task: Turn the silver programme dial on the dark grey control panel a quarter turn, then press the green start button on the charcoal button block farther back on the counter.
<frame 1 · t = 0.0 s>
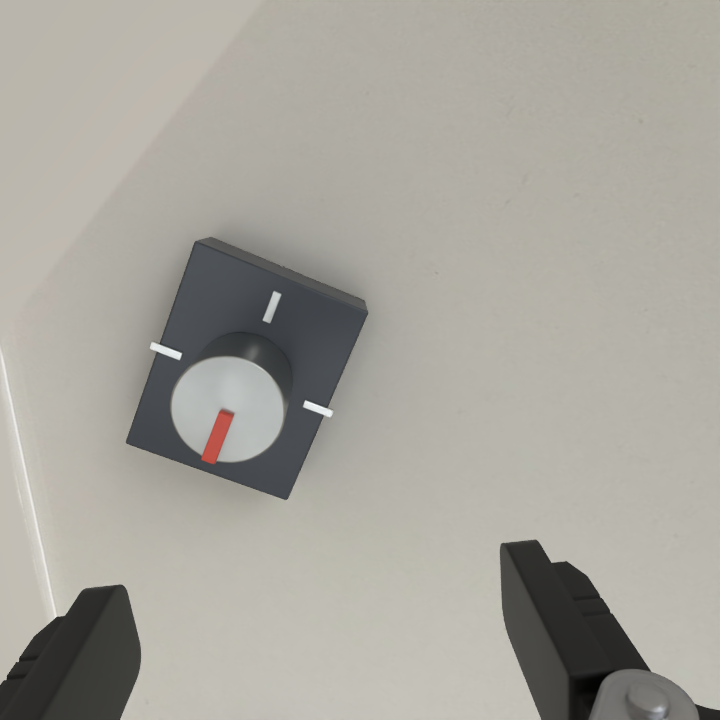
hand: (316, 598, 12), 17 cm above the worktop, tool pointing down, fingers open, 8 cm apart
dial: (235, 395, 24), point 5 cm above the worktop, hinge at 0.0°
control panel: (253, 361, 29), on the worktop
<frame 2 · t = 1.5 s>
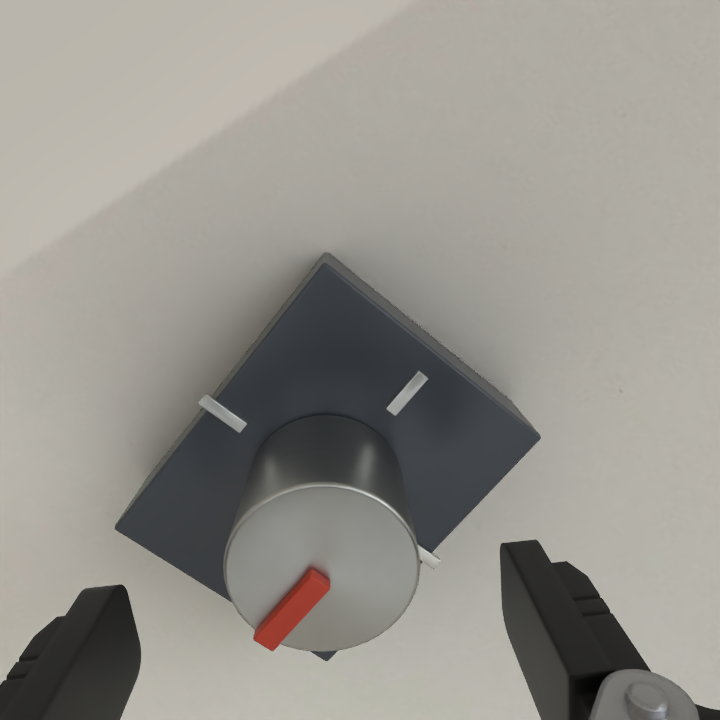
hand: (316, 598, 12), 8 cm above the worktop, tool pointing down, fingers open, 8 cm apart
dial: (324, 526, 14), point 5 cm above the worktop, hinge at 0.0°
control panel: (327, 441, 19), on the worktop
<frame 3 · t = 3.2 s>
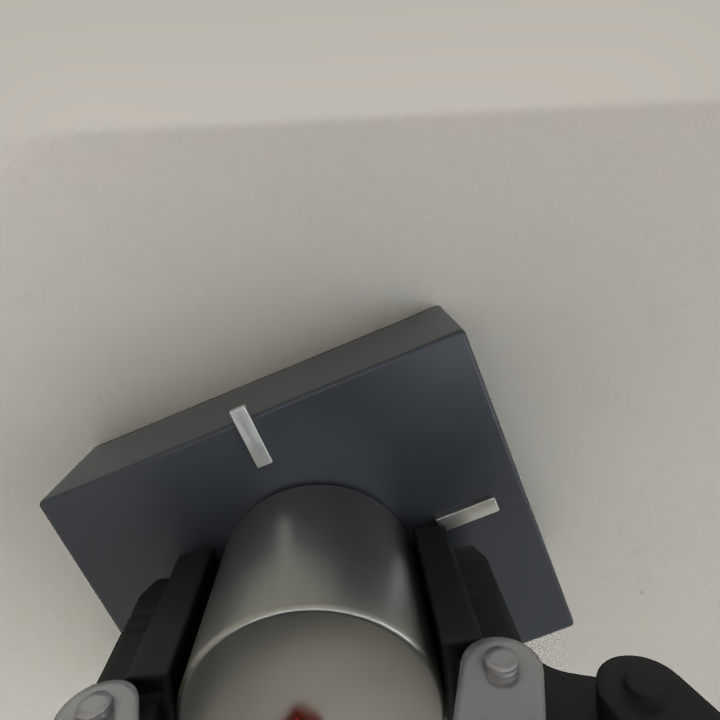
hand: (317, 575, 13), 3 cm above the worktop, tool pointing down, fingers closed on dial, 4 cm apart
dial: (316, 638, 11), point 5 cm above the worktop, hinge at 28.7°, touching gripper
control panel: (323, 502, 16), on the worktop
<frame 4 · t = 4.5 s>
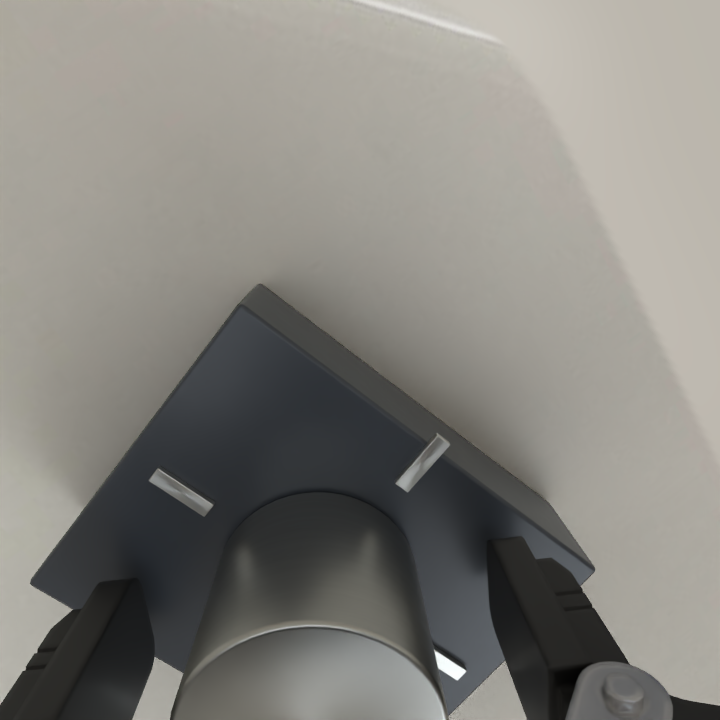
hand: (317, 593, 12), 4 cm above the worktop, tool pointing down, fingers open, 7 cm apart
dial: (314, 652, 11), point 5 cm above the worktop, hinge at 91.0°
control panel: (321, 508, 16), on the worktop
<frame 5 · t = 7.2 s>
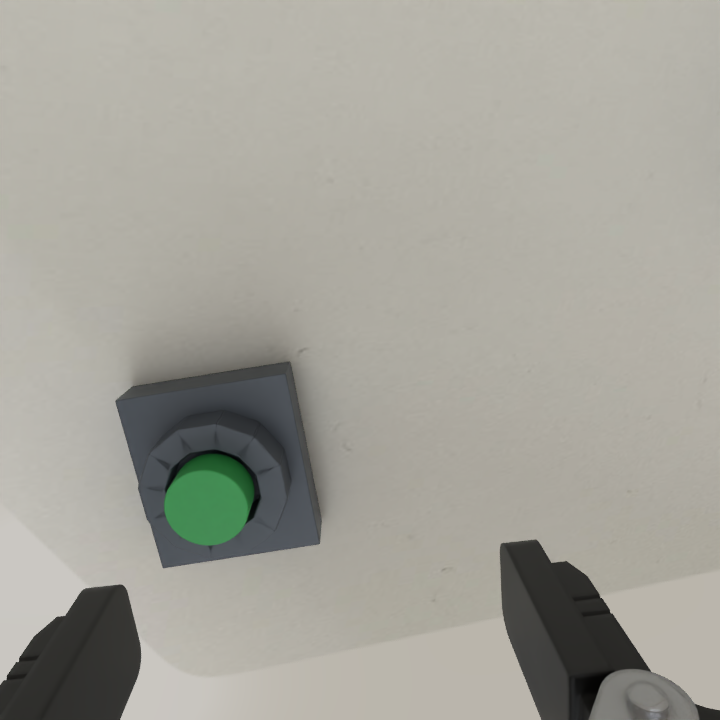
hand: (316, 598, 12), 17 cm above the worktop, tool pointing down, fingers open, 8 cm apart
button block: (230, 456, 30), on the worktop
start button: (210, 498, 25), point 4 cm above the worktop, slide at 0.1 cm
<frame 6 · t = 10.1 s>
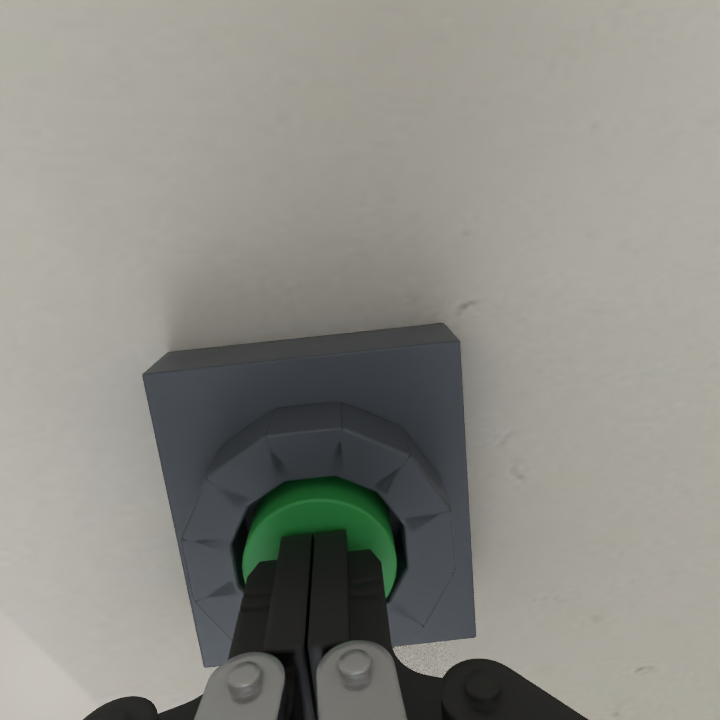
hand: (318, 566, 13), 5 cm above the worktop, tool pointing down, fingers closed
button block: (324, 479, 18), on the worktop
start button: (320, 547, 14), point 4 cm above the worktop, slide at -0.8 cm, touching gripper
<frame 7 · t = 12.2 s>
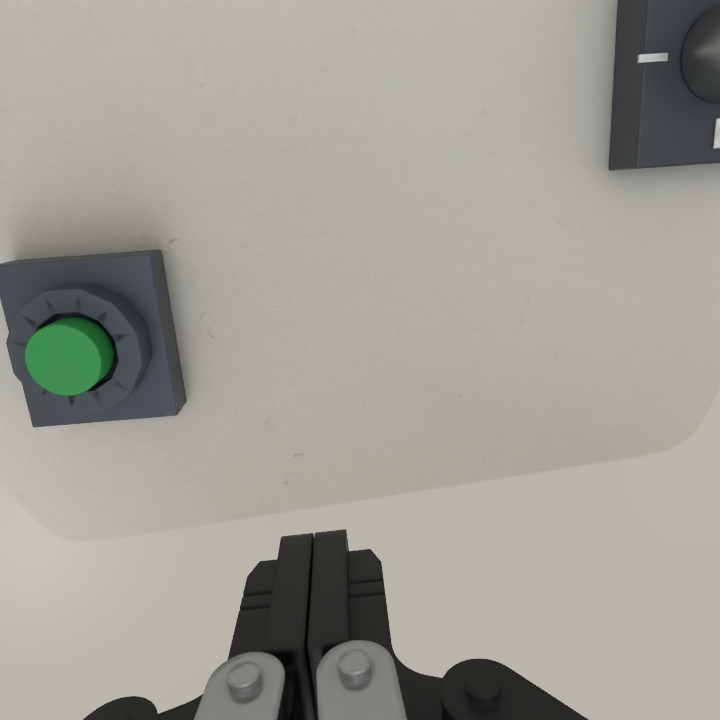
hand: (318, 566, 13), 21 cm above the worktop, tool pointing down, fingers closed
button block: (104, 334, 33), on the worktop
start button: (70, 356, 28), point 4 cm above the worktop, slide at 0.1 cm
control panel: (687, 66, 30), on the worktop
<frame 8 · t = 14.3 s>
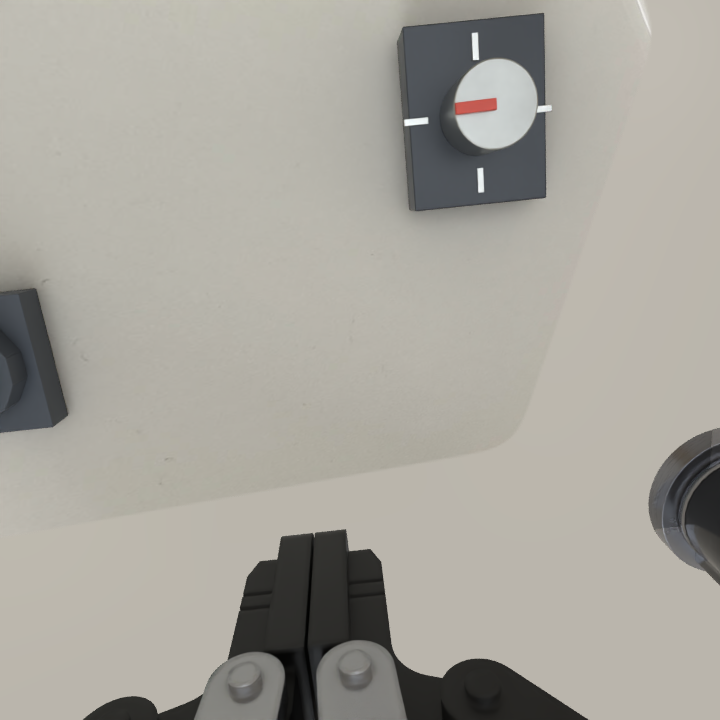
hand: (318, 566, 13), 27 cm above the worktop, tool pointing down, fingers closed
dial: (487, 109, 31), point 5 cm above the worktop, hinge at 91.0°
control panel: (466, 122, 36), on the worktop
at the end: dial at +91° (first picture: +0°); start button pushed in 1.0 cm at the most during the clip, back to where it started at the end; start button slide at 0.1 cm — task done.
